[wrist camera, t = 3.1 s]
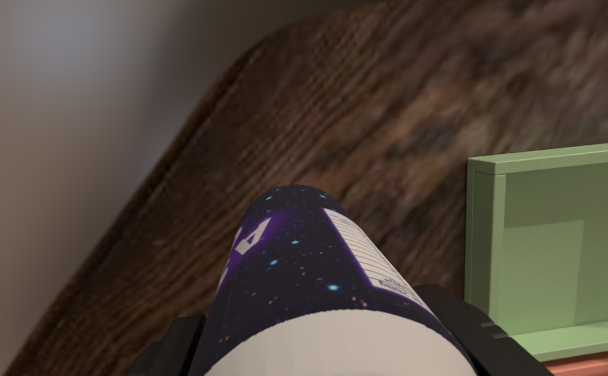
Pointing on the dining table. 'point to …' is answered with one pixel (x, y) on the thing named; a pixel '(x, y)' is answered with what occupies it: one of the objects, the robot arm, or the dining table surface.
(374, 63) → the dining table surface
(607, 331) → the green tray
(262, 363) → the beverage can
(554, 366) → the coral tray
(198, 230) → the dining table surface
